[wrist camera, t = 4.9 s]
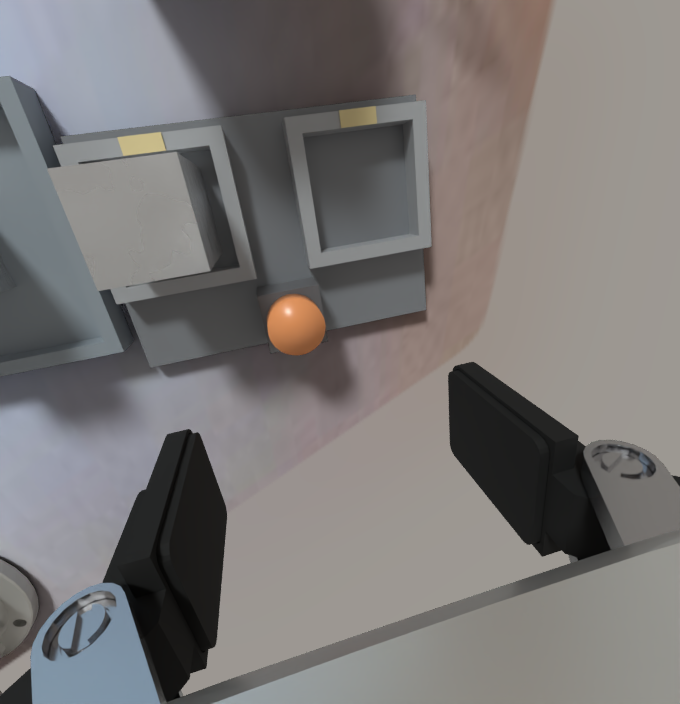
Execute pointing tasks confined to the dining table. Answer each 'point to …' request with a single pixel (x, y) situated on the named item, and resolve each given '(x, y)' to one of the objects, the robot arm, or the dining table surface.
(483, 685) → the robot arm
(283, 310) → the button
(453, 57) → the dining table surface
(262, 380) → the dining table surface
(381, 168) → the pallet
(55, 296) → the tray
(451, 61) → the dining table surface
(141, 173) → the block
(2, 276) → the block
